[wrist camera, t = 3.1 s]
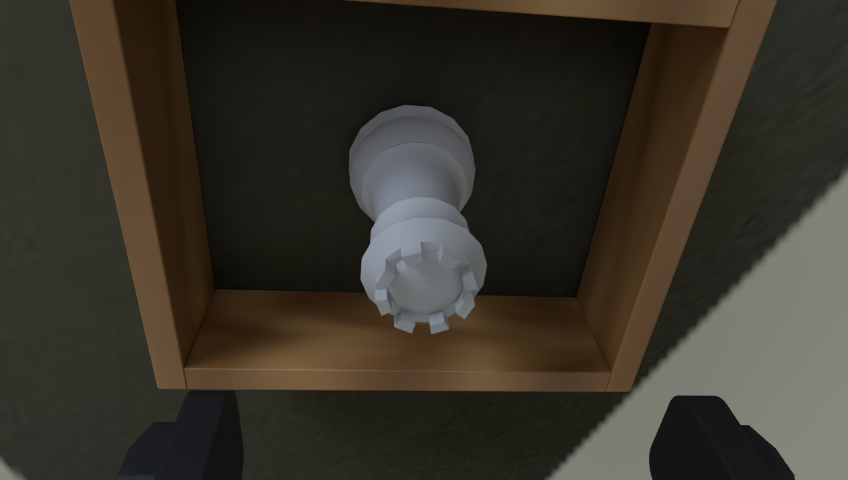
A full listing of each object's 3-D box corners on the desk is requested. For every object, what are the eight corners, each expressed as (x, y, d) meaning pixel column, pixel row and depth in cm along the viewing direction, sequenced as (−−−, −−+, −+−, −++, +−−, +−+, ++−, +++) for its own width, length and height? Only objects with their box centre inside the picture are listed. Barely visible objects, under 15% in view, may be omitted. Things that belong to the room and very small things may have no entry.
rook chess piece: (474, 207, 22) (518, 352, 15) (358, 220, 22) (349, 371, 15) (469, 92, 20) (517, 204, 13) (338, 107, 20) (317, 227, 13)
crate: (192, 307, 24) (157, 389, 20) (127, -82, 16) (51, -70, 12) (592, 315, 25) (630, 392, 21) (697, -34, 18) (782, -11, 14)
